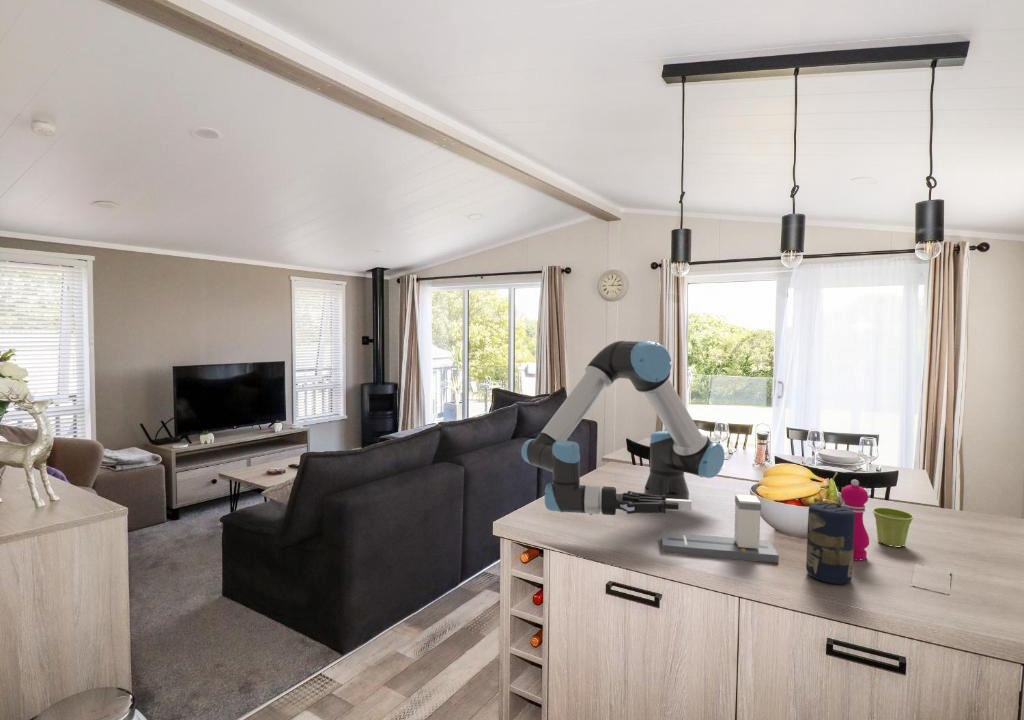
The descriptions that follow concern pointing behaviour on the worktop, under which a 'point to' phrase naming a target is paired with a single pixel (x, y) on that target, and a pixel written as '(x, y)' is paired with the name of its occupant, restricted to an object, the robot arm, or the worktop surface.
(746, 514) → the fader knob
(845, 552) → the canister
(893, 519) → the plant pot
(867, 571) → the worktop surface
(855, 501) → the pepper mill
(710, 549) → the fader console
